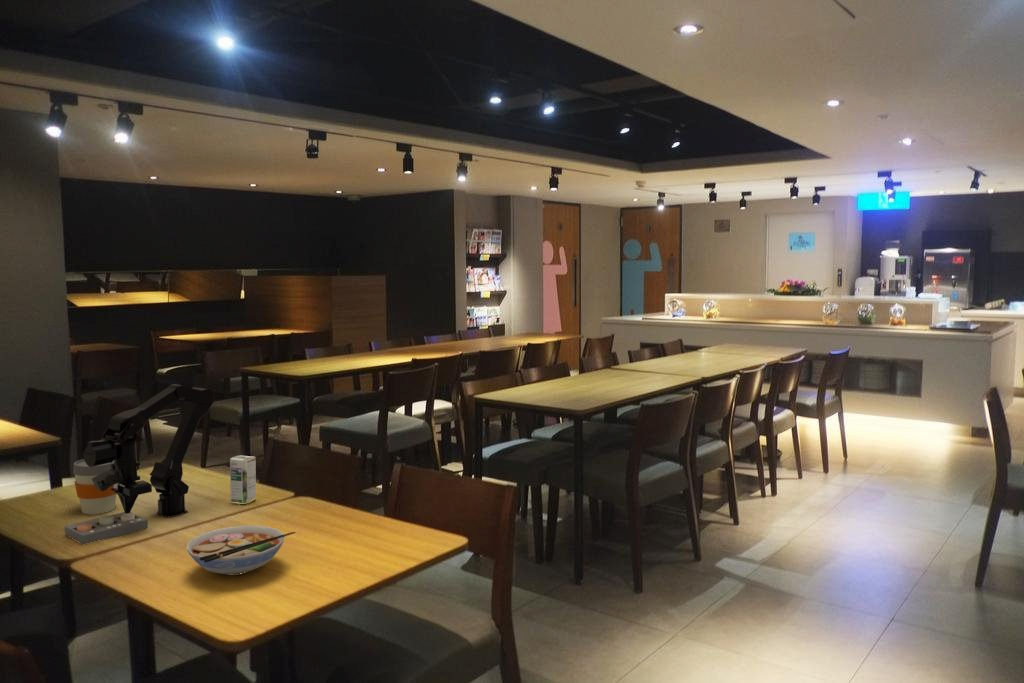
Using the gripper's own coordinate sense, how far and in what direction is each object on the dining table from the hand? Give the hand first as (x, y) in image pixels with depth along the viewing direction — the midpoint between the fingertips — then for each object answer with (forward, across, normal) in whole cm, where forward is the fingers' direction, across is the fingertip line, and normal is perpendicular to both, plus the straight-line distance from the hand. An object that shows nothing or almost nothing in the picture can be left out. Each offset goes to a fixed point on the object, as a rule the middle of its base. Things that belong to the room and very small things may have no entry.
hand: (127, 513), depth 220 cm
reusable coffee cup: (+4, -22, +1) cm, 22 cm away
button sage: (+4, 0, -6) cm, 7 cm away
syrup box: (+4, +4, +34) cm, 35 cm away
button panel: (+4, 0, -6) cm, 7 cm away
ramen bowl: (+4, +52, +3) cm, 52 cm away
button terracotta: (+5, 0, -12) cm, 12 cm away
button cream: (+5, 0, 0) cm, 5 cm away
